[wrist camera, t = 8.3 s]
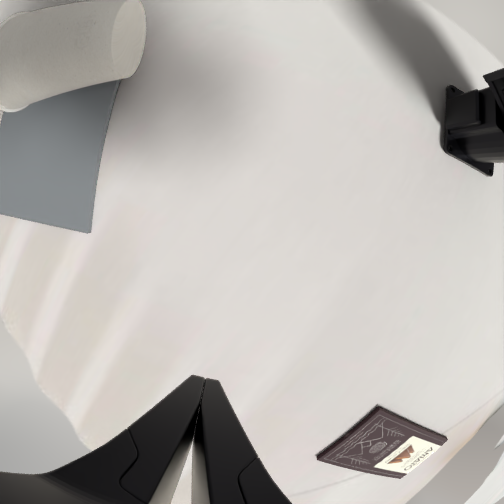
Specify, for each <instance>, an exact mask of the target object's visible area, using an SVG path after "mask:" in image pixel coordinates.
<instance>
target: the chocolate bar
mask: <svg viewBox="0 0 504 504" xmlns="http://www.w3.org/2000/svg"><path fill="white" fill-rule="evenodd" d="M447 440H448V439H447V438H446V437H444V436H442V435H439V434H437V433H435V432H432V431H430V430H428V429H426V428H423V427H421V426H419V425H417V424H414V423H412V422H410V421H408V420H406V419H404V418H402V417H399V416H397V415H395V414H393V413H391V412H389V411H387V410H385V409H383V408H381V407H379V406H378V407H377V408H376V409H375V410H374V411H372V412H371V413H370V414H369V415H368V416H367V417H366V418H365V419H364V420H362V421H361V422H360V423H359V424H358V425H357V426H355V427H354V428H353V429H352V430H351V431H349V432H348V433H347V434H346V435H345V436H343V437H342V438H341V439H339V440H338V441H337V442H336V443H334V444H333V445H332V446H330V447H329V448H328V449H326V450H325V451H324V452H322V453H321V454H320V455H318V456H317V460H319V461H322V462H325V463H329V464H333V465H336V466H340V467H344V468H348V469H352V470H356V471H361V472H366V473H370V474H375V475H381V476H386V477H392V478H399V479H401V478H402V477H403V476H405V475H406V474H407V473H409V472H410V471H411V470H413V469H414V468H415V467H417V466H418V465H419V464H420V463H422V462H423V461H424V460H425V459H427V458H428V457H429V456H430V455H431V454H433V453H434V452H435V451H436V450H437V449H438V448H439V447H441V446H442V445H443V444H444V443H445V442H446V441H447Z"/></svg>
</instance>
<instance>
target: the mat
mask: <svg viewBox="0 0 504 504" xmlns="http://www.w3.org/2000/svg"><path fill="white" fill-rule="evenodd" d="M120 80H121V79H119V80H114V81H109V82H104V83H100V84H95V85H91V86H87V87H83V88H79V89H76V90H72V91H68V92H65V93H62V94H58V95H55V96H52V97H49V98H46V99H43V100H40V101H37V102H34V103H32V104H29V105H28V106H27V107H25V108H24V109H22V110H20V111H17V112H5V111H4V112H3V116H2V120H1V125H0V214H2V215H6V216H11V217H15V218H20V219H24V220H29V221H33V222H38V223H42V224H47V225H51V226H56V227H60V228H65V229H69V230H74V231H79V232H83V233H91V227H92V216H93V207H94V199H95V192H96V185H97V178H98V172H99V166H100V161H101V155H102V150H103V145H104V141H105V136H106V132H107V127H108V123H109V119H110V115H111V111H112V107H113V104H114V100H115V97H116V93H117V90H118V86H119V83H120Z"/></svg>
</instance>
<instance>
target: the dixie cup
mask: <svg viewBox="0 0 504 504" xmlns="http://www.w3.org/2000/svg"><path fill="white" fill-rule="evenodd" d="M145 39H146V15H145V10H144V7H143V5H142V3H141V1H140V0H93V1H84V2H77V3H70V4H64V5H59V6H54V7H49V8H44V9H40V10H36V11H32V12H20V13H16V14H14V15H12V16H10V17H8V18H7V19H6V20H4V21H3V22H2V23H1V24H0V110H2V111H5V112H17V111H20V110H22V109H24V108H25V107H27V106H28V105H29V104H32V103H34V102H37V101H40V100H43V99H46V98H49V97H52V96H55V95H58V94H62V93H65V92H68V91H72V90H76V89H79V88H83V87H87V86H91V85H95V84H100V83H104V82H109V81H114V80H119V79H124V78H129V77H131V76H132V75H133V74H134V73H135V71H136V70H137V68H138V66H139V64H140V61H141V58H142V55H143V51H144V46H145Z"/></svg>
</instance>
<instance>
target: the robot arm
mask: <svg viewBox="0 0 504 504" xmlns="http://www.w3.org/2000/svg"><path fill="white" fill-rule="evenodd" d="M483 77H484V79H485V81H486V82H487V83H488V85H489V87H488V88H485V89H482V90H477V89H475V90H472V91H469V92H467V93H464V92H462V91H461V90H459V89H458V88H456V87H455V86H453V85H450V86H447V89H446V120H445V136H444V151H445V153H447V154H448V155H450V156H452V157H454V158H456V159H458V160H459V161H461V162H463V163H465V164H467V165H469V166H470V167H472V168H474V169H476V170H477V171H479V172H481V173H482V174H484V175H486V176H490V177H491V176H492V175H493V170H494V163H504V68H502V69H499V70H497V71H494V72H491V73H489V74H486V75H483ZM451 90H452V91H451ZM449 147H450V150H449ZM204 382H205V383H204ZM203 387H204V388H203ZM202 392H203V393H202ZM201 397H202V398H201ZM200 402H201V403H200ZM199 407H200V408H199ZM198 412H199V413H198ZM197 417H198V418H197ZM196 422H197V423H196ZM195 427H196V428H195ZM194 432H195V433H194ZM193 437H194V439H193ZM192 441H193V450H192V504H292V503H291V502H290V501H289V499H288V498H287V497H286V496H285V495H284V494H283V492H282V491H281V490H280V489H279V487H278V486H277V485H276V483H275V482H274V481H273V479H272V478H271V476H270V475H269V473H268V472H267V470H266V469H265V467H264V465H263V463H262V462H261V460H260V458H258V455H257V453H256V451H255V450H254V448H253V446H252V444H251V442H250V441H249V439H248V437H247V435H246V433H245V431H244V429H243V427H242V426H241V424H240V422H239V420H238V418H237V416H236V414H235V412H234V410H233V408H232V406H231V404H230V402H229V400H228V398H227V396H226V394H225V392H224V390H223V388H222V386H221V384H220V382H219V381H218V380H214V379H209V378H206V379H205V378H204V377H200V376H196V375H191V376H190V377H189V378H187V379H186V380H185V381H184V382H183V383H182V384H180V385H179V386H178V387H177V388H176V389H174V390H173V391H172V392H171V393H170V394H169V395H167V396H166V397H165V398H164V399H162V400H161V401H160V402H159V403H158V404H156V405H155V406H154V407H153V408H152V409H150V410H149V411H148V412H147V413H145V414H144V415H143V416H142V417H140V418H139V419H138V420H137V421H135V422H134V423H133V424H132V425H130V426H129V427H128V428H127V429H125V430H124V431H122V432H121V433H120V434H119V435H117V436H116V437H114V438H113V439H112V440H110V441H109V442H107V443H106V444H104V445H103V446H101V447H99V448H97V449H96V450H94V451H92V452H90V453H88V454H86V455H85V456H82V457H81V458H79V459H77V460H75V461H72V462H70V463H69V464H66V465H65V466H62V467H60V468H58V469H56V470H53V471H50V472H47V473H43V474H19V473H8V472H0V504H170V503H171V500H172V498H173V495H174V492H175V489H176V487H177V484H178V481H179V478H180V476H181V473H182V470H183V467H184V464H185V462H186V459H187V456H188V453H189V450H190V448H191V444H192Z"/></svg>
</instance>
